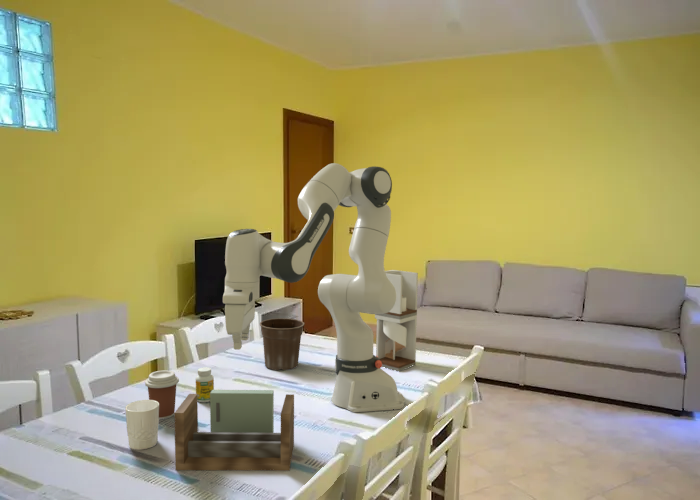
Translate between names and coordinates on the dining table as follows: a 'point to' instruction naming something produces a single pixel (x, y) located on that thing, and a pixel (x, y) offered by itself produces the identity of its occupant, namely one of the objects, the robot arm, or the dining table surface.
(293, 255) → the robot arm
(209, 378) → the supplement bottle
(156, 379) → the coffee cup
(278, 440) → the wooden book rack
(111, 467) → the dining table surface
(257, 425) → the door panel
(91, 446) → the dining table surface
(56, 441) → the dining table surface
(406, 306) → the display case
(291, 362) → the plant pot
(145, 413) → the white cup
